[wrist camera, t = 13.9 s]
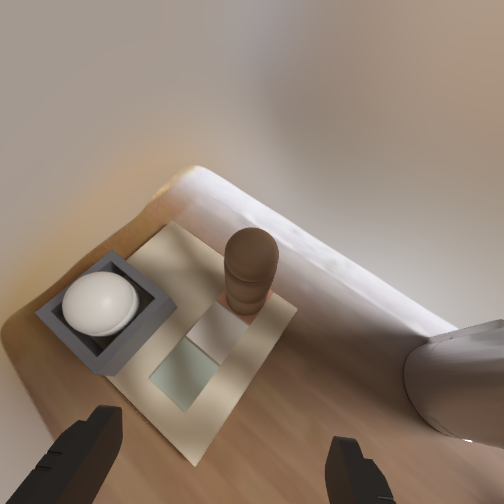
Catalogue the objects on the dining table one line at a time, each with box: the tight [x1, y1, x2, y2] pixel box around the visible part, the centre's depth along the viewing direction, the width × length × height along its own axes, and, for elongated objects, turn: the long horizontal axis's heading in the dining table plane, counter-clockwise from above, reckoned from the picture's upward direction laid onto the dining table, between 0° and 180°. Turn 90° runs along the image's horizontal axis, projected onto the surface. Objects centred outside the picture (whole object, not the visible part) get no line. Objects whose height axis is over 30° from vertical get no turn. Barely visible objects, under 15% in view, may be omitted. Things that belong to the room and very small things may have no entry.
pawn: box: [224, 228, 279, 315], centre depth 24 cm, size 5×5×13 cm
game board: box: [89, 221, 298, 466], centre depth 29 cm, size 18×21×2 cm
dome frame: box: [35, 250, 178, 376], centre depth 26 cm, size 9×9×4 cm
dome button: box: [62, 272, 140, 338], centre depth 24 cm, size 6×6×6 cm
